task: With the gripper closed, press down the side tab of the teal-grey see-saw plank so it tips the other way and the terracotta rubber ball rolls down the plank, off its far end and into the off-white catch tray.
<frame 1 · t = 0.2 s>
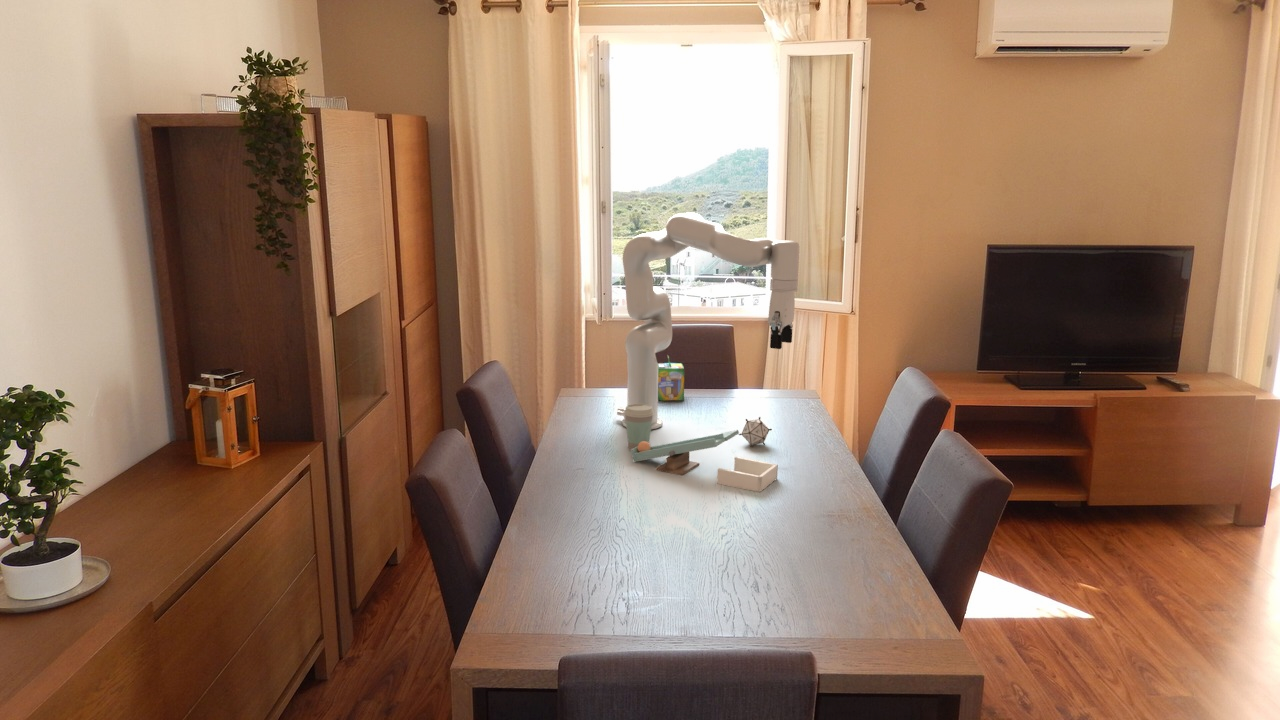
hand: (781, 345, 268), 31 cm above the table, fingers open, 9 cm apart
tray: (747, 481, 248), on the table
game die: (754, 445, 278), on the table
ball: (644, 447, 262), point 4 cm above the table, tilted 13°, touching lever
coffee cup: (638, 447, 275), on the table
chalk box: (670, 398, 329), on the table
fulcrum: (677, 467, 257), on the table
lever: (683, 442, 259), point 6 cm above the table, hinge at -19.3°, touching ball
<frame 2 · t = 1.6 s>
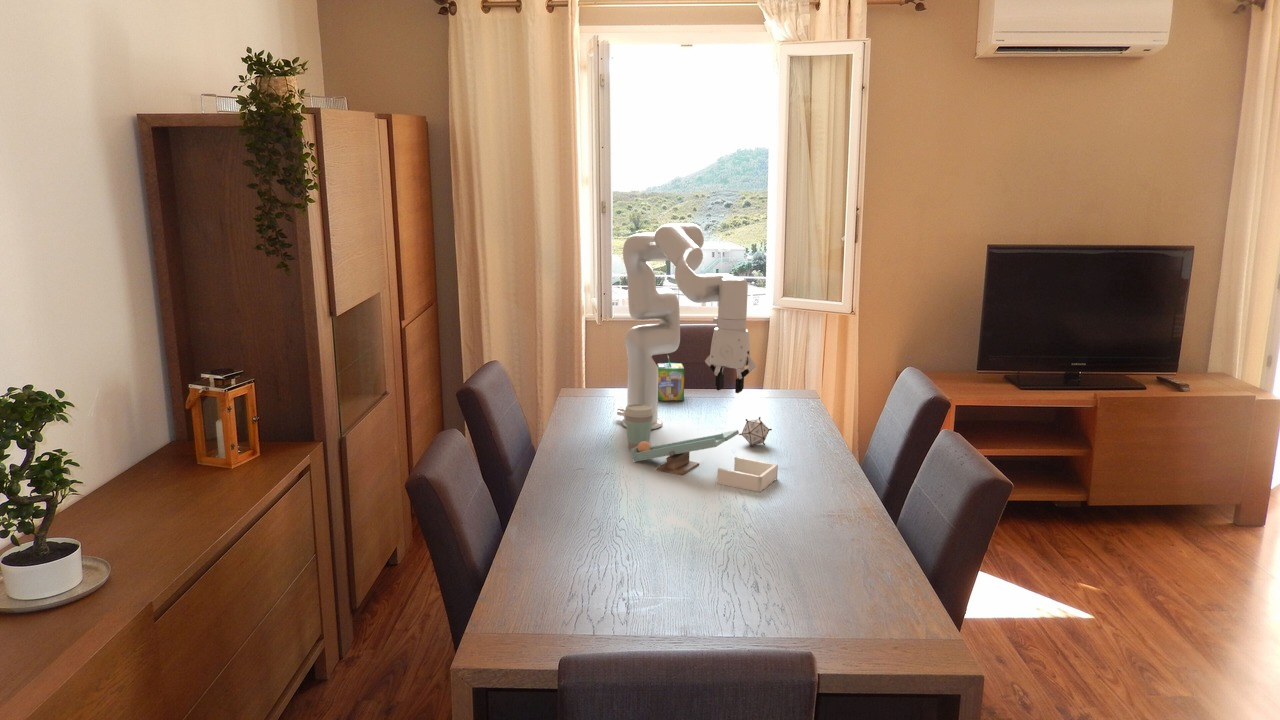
hand: (729, 390, 255), 21 cm above the table, fingers open, 4 cm apart
nothing on the table moved.
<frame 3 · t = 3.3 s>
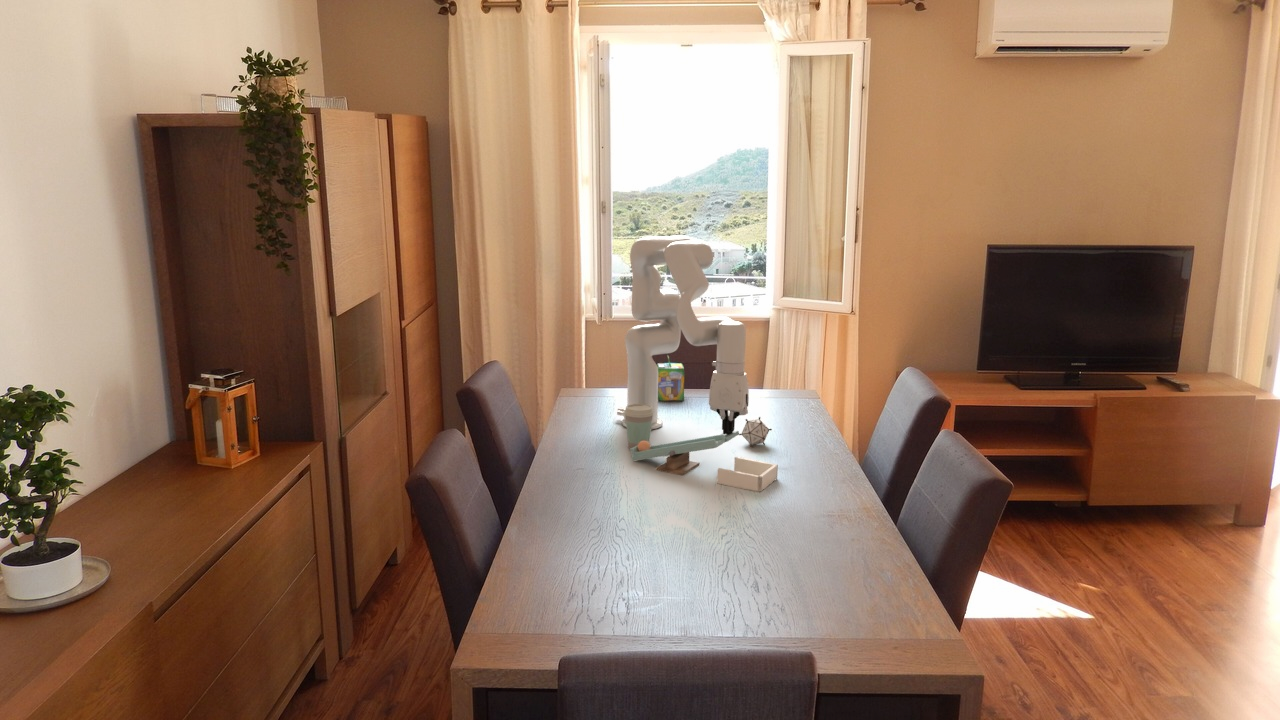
hand: (728, 433, 258), 9 cm above the table, fingers closed
lever: (683, 442, 259), point 6 cm above the table, hinge at -18.1°, touching ball, gripper
everything else where it was.
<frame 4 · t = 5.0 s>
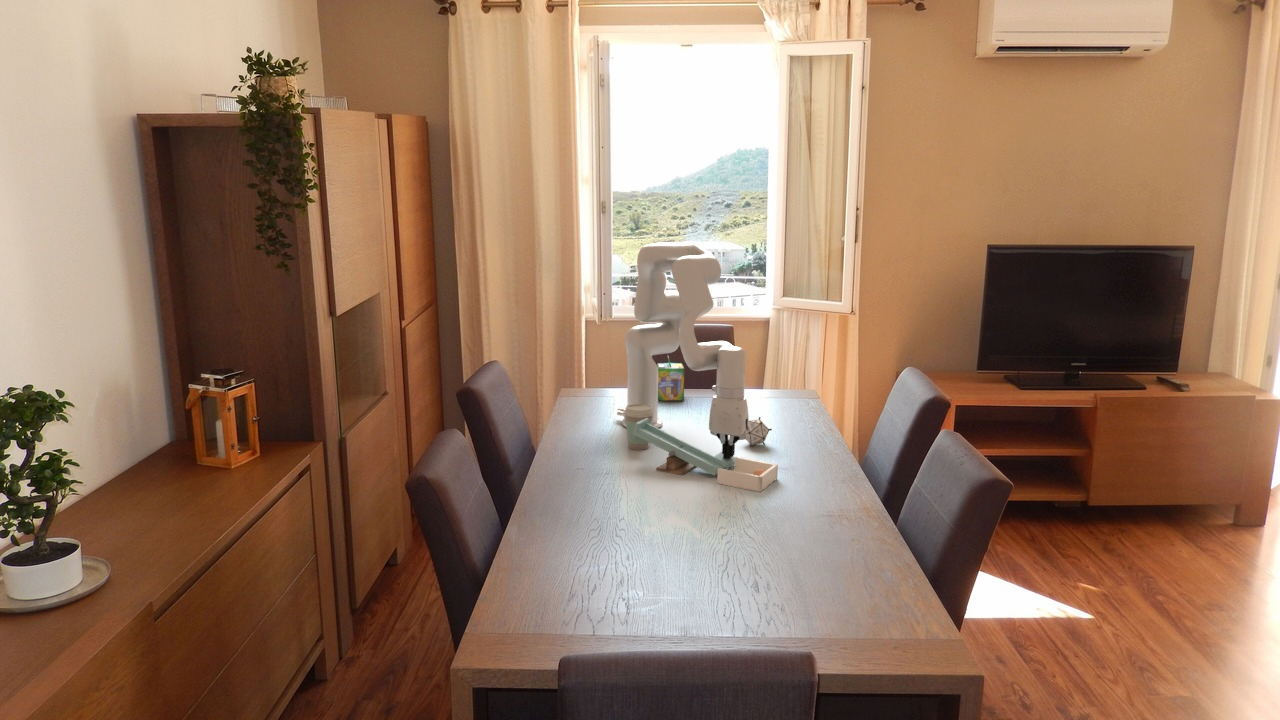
hand: (728, 457, 259), 3 cm above the table, fingers closed
ball: (759, 475, 246), point 2 cm above the table, tilted 70°, touching tray
lever: (685, 443, 259), point 6 cm above the table, hinge at 16.4°, touching gripper
everything else where it was.
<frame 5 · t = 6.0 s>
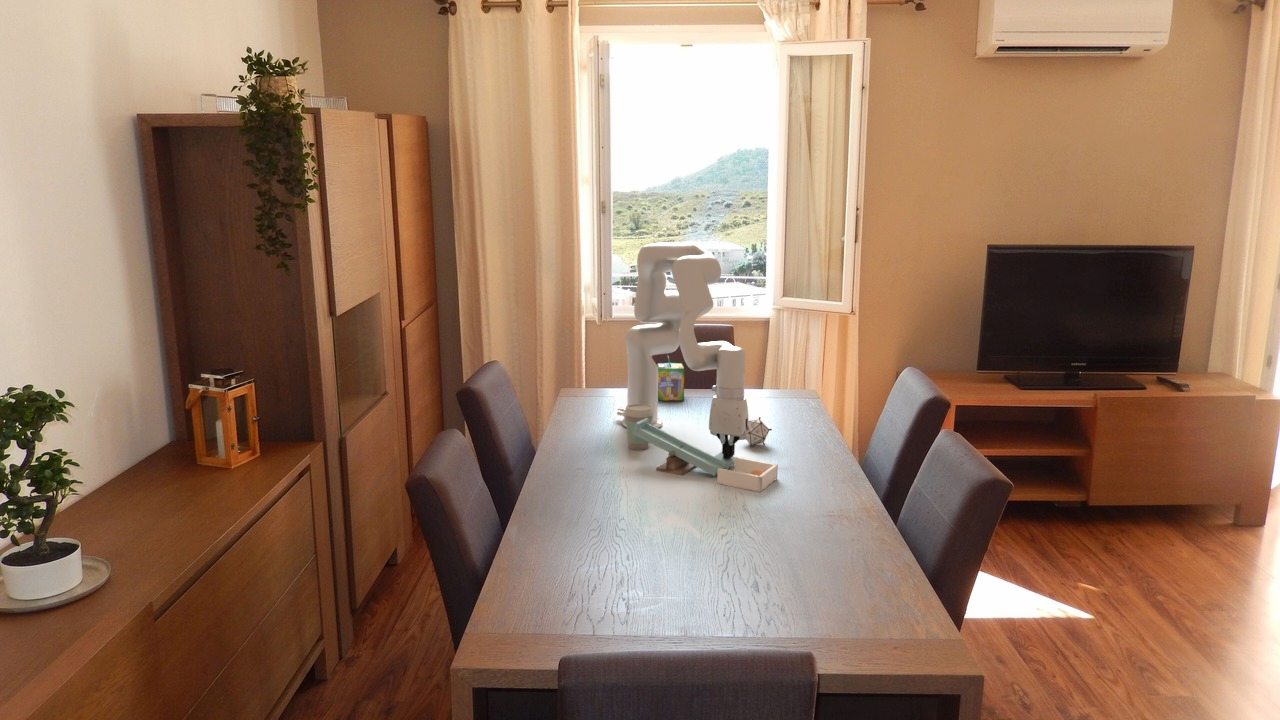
hand: (728, 457, 259), 2 cm above the table, fingers closed
ball: (757, 475, 246), point 2 cm above the table, tilted 50°, touching tray
everything else where it was.
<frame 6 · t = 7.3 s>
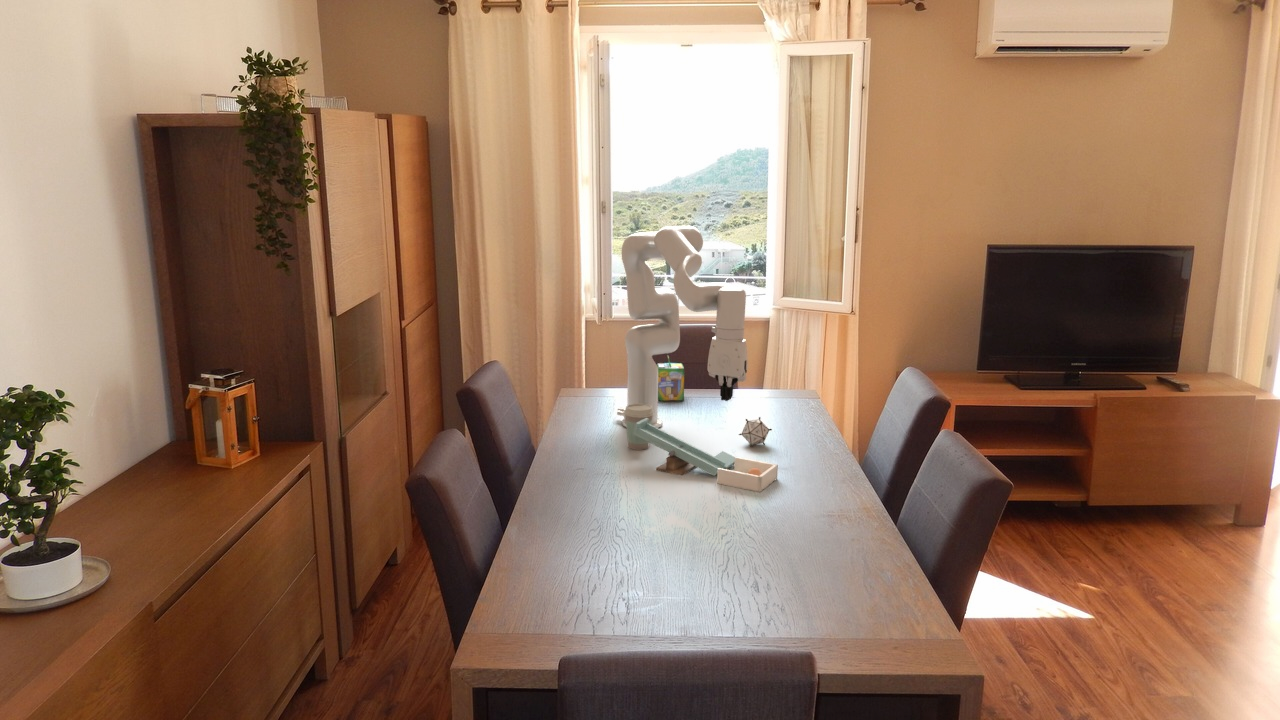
hand: (726, 399, 258), 18 cm above the table, fingers closed
ball: (754, 474, 246), point 2 cm above the table, tilted 24°, touching tray
lever: (685, 443, 259), point 6 cm above the table, hinge at 16.5°
everything else where it was.
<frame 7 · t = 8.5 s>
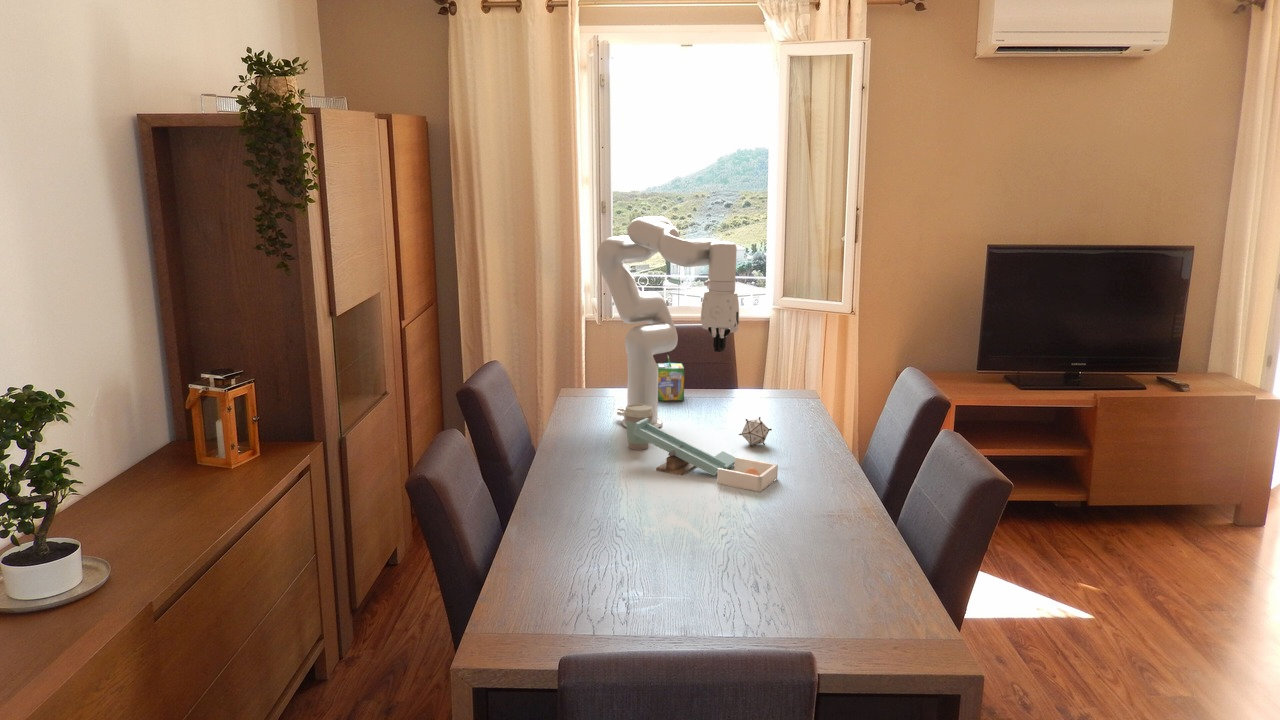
hand: (719, 350, 267), 29 cm above the table, fingers closed
ball: (751, 474, 247), point 2 cm above the table, touching tray
everything else where it was.
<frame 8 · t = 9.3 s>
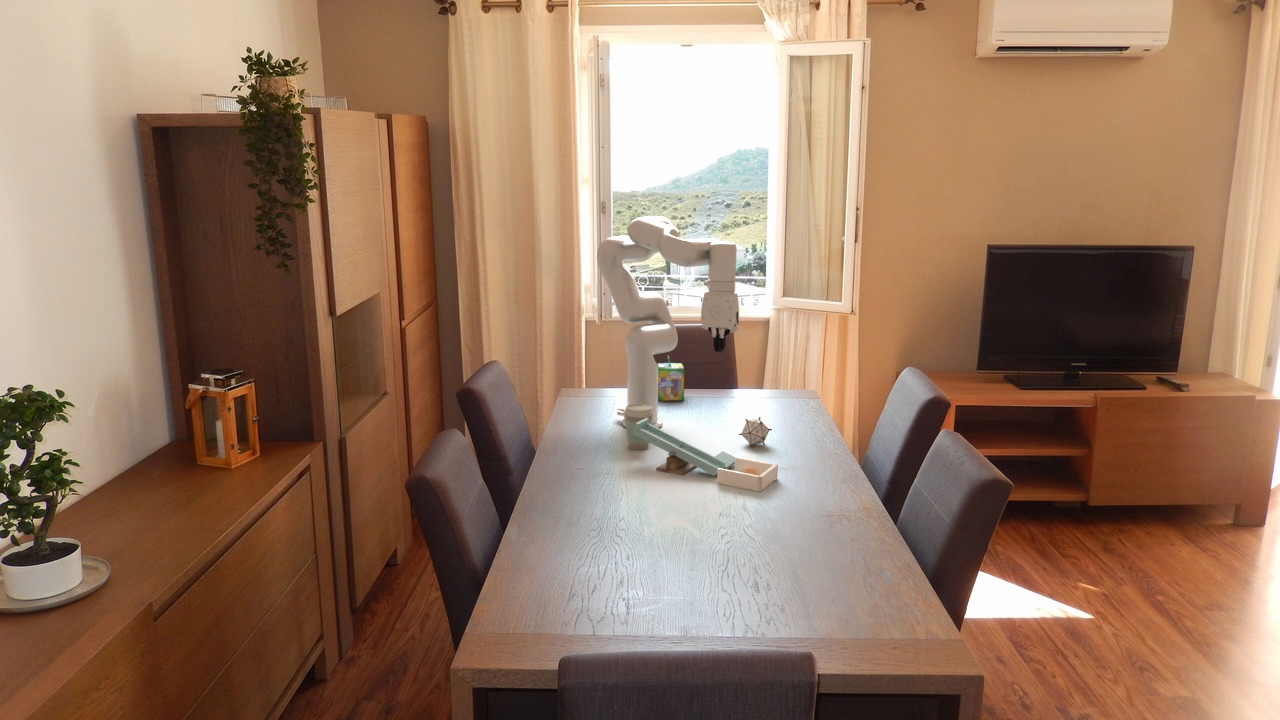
hand: (719, 350, 267), 29 cm above the table, fingers closed
ball: (750, 474, 247), point 2 cm above the table, tilted 16°, touching tray
everything else where it was.
at the end: ball inside the target area on the tray (0.8 cm from its centre), point 2.1 cm above the tray's base; lever at +16° (first picture: -19°) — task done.
